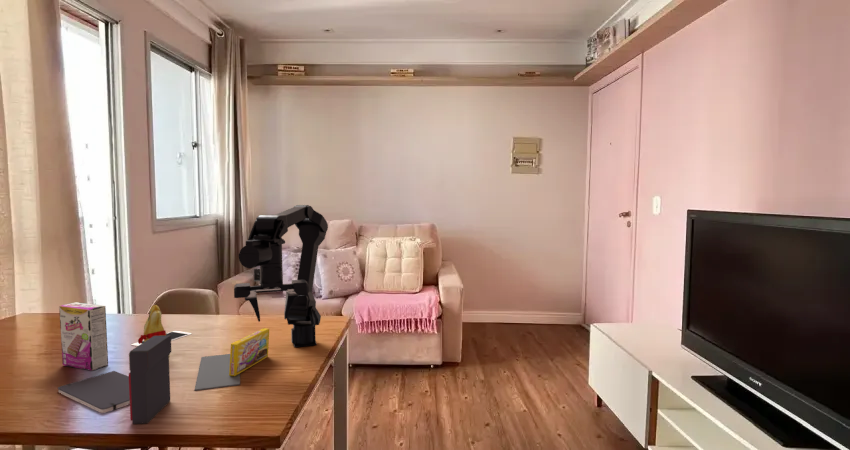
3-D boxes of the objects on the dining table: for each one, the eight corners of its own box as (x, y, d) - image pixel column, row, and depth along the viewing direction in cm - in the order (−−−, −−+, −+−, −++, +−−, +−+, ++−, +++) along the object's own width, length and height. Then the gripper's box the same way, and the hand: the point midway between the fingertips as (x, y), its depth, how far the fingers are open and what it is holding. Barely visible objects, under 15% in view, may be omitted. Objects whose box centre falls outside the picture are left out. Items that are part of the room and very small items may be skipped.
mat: (239, 353, 142) (239, 352, 142) (240, 384, 119) (240, 383, 119) (201, 357, 138) (201, 356, 138) (194, 390, 116) (194, 389, 116)
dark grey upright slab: (153, 401, 110) (150, 335, 109) (173, 400, 110) (171, 334, 109) (128, 424, 99) (124, 351, 98) (150, 424, 99) (147, 351, 98)
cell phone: (130, 346, 149) (130, 344, 149) (175, 332, 164) (175, 330, 164) (148, 349, 146) (148, 347, 146) (192, 335, 161) (192, 333, 161)
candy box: (236, 377, 123) (236, 344, 123) (228, 376, 124) (228, 343, 123) (269, 357, 139) (269, 327, 139) (262, 356, 139) (262, 327, 139)
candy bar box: (60, 366, 131) (57, 305, 130) (79, 360, 136) (76, 301, 135) (91, 371, 128) (88, 309, 126) (109, 365, 132) (106, 304, 131)
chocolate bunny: (159, 351, 144) (158, 300, 143) (173, 360, 136) (171, 306, 135) (133, 356, 139) (131, 304, 138) (145, 366, 131) (143, 311, 130)
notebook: (161, 395, 115) (114, 376, 126) (161, 388, 114) (114, 370, 126) (102, 416, 104) (56, 394, 115) (102, 409, 104) (56, 387, 115)
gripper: (303, 256, 142) (304, 310, 143) (233, 260, 136) (235, 316, 137) (308, 262, 132) (309, 319, 133) (233, 266, 125) (234, 326, 126)
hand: (272, 320), depth 133 cm, fingers open, 6 cm apart
